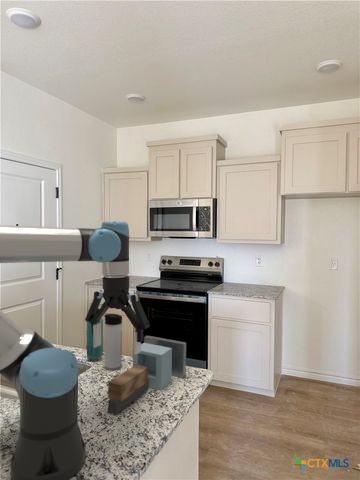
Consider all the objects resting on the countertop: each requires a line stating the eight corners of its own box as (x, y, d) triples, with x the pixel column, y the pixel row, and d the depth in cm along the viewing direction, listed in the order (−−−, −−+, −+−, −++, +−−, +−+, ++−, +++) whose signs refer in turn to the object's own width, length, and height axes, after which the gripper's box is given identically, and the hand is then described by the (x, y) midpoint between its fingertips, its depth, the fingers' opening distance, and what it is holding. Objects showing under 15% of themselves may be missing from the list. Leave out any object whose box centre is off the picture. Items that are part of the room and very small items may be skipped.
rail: (116, 415, 92) (116, 402, 92) (108, 412, 93) (108, 400, 93) (148, 389, 107) (148, 378, 107) (141, 387, 108) (141, 376, 108)
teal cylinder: (105, 356, 134) (105, 307, 133) (99, 363, 127) (100, 311, 126) (89, 355, 134) (90, 306, 134) (83, 362, 128) (83, 310, 127)
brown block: (121, 401, 92) (121, 385, 92) (108, 397, 94) (108, 382, 94) (147, 381, 105) (147, 367, 105) (135, 378, 107) (135, 364, 107)
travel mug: (100, 367, 123) (100, 313, 123) (115, 362, 128) (116, 310, 127) (109, 372, 119) (109, 317, 118) (124, 367, 123) (125, 314, 122)
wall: (183, 378, 115) (183, 344, 114) (143, 369, 122) (144, 337, 122) (185, 376, 117) (186, 342, 116) (146, 367, 124) (147, 335, 123)
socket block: (161, 390, 106) (161, 355, 106) (132, 382, 111) (132, 349, 111) (171, 381, 112) (171, 348, 112) (143, 374, 117) (144, 342, 117)
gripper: (161, 276, 93) (161, 351, 94) (89, 271, 103) (90, 339, 104) (148, 280, 86) (148, 361, 87) (72, 274, 96) (73, 347, 97)
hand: (116, 349), depth 95 cm, fingers open, 13 cm apart
